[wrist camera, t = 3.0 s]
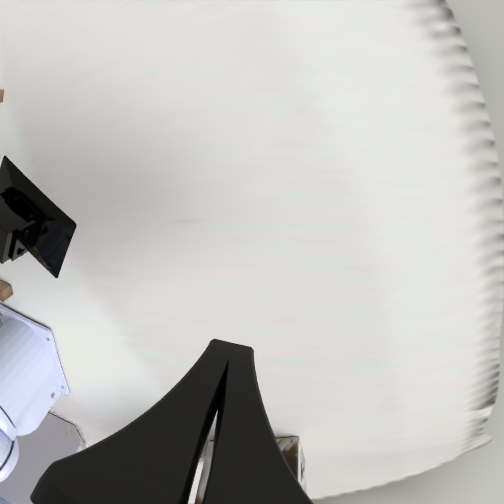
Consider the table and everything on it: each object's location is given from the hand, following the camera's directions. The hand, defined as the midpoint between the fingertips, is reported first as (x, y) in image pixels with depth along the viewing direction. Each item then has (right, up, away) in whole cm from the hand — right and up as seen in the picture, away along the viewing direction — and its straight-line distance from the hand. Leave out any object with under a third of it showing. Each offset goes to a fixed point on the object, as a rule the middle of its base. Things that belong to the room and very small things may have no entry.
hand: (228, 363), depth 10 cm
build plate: (-16, +7, +9) cm, 20 cm away
